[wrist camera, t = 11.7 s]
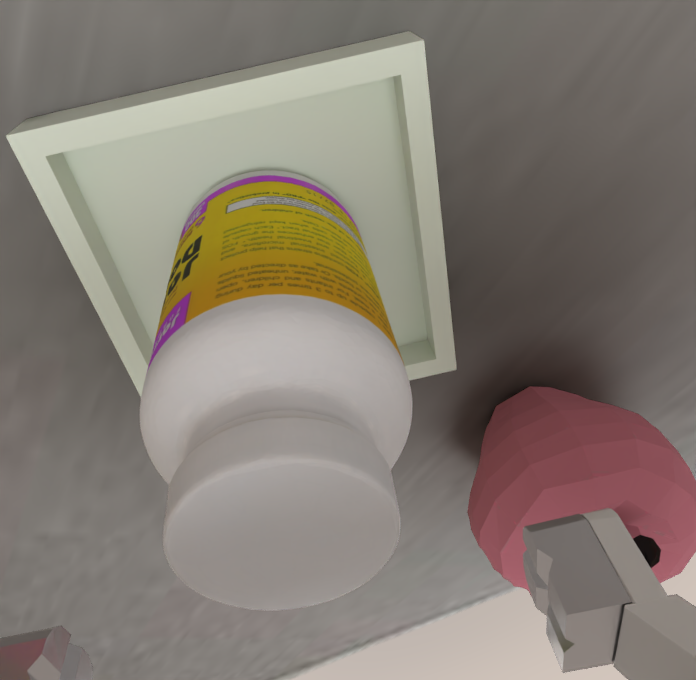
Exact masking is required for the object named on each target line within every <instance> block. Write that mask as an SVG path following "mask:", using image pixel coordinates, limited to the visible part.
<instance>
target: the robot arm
mask: <svg viewBox="0 0 696 680" xmlns="http://www.w3.org/2000/svg"><path fill="white" fill-rule="evenodd" d="M523 541H524V543H525V545H526V548H527V550H526V551H525V552H524V553H523V566H524V571H525V576H526V581H527V584H528V587H529V590H530V593H531V596H532V598H533V601H534V603H535V606H536V608H537V609H538V610H540V611H541V612H542V613H544V614H545V615H546V616H547V636H548V638H549V641H550V643H551V645H552V648H553V650H554V653H555V655H556V658H557V660H558V662H559V665H560V667H561V670H562V672H563V673H565V672H570V671H575V670H580V669H587V668H592V667H598V666H603V665H608V664H614V667H615V668H616V669H617V670H618V671H619V672H620V673H621V674H622V675H624V676H625V677H626V678H627V679H628V680H696V607H695V606H694V605H692V604H691V603H689V602H688V601H686V600H685V599H683V598H682V597H680V596H678V595H677V594H676V595H669V596H667V594H666V592H665V591H664V589H663V587H662V586H661V584H660V582H659V581H658V579H657V578H656V576H655V574H654V573H653V571H652V569H651V568H650V566H649V564H648V563H647V561H646V560H645V558H644V556H643V555H642V553H641V551H640V550H639V548H638V547H637V545H636V543H635V542H634V540H633V538H632V537H631V535H630V533H629V532H628V530H627V529H626V527H625V525H624V524H623V522H622V520H621V519H620V517H619V515H618V514H617V513H616V512H615V511H614V510H612V509H611V508H605V509H601V510H596V511H592V512H588V513H583V514H575V515H571V516H567V517H562V518H558V519H554V520H549V521H545V522H541V523H537V524H532V525H528V526H525V527H524V528H523ZM70 637H71V634H70V633H69V632H68V631H67V630H66V629H65V628H64V627H63V626H57V627H52V628H47V629H42V630H38V631H33V632H28V633H23V634H18V635H14V636H9V637H1V638H0V680H93V666H92V663H91V660H90V657H89V655H88V654H87V652H86V651H85V650H84V649H83V648H82V647H79V646H76V645H73V644H70V643H69V641H70Z"/></svg>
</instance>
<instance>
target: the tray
mask: <svg viewBox="0 0 696 680" xmlns="http://www.w3.org/2000/svg"><path fill="white" fill-rule="evenodd" d="M6 137H7V139H8V141H9V143H10V145H11V147H12V149H13V151H14V153H15V155H16V157H17V159H18V161H19V163H20V164H21V166H22V168H23V170H24V172H25V174H26V176H27V178H28V180H29V182H30V184H31V186H32V188H33V190H34V192H35V193H36V195H37V197H38V199H39V201H40V203H41V205H42V207H43V209H44V211H45V213H46V215H47V217H48V219H49V221H50V222H51V224H52V226H53V228H54V230H55V232H56V234H57V236H58V238H59V240H60V242H61V244H62V246H63V248H64V250H65V251H66V253H67V255H68V257H69V259H70V261H71V263H72V265H73V267H74V269H75V271H76V273H77V275H78V277H79V279H80V280H81V282H82V284H83V286H84V288H85V290H86V292H87V294H88V296H89V298H90V300H91V302H92V304H93V306H94V308H95V309H96V311H97V313H98V315H99V317H100V319H101V321H102V323H103V325H104V327H105V329H106V331H107V333H108V335H109V337H110V338H111V340H112V342H113V344H114V346H115V348H116V350H117V352H118V354H119V356H120V358H121V360H122V362H123V364H124V365H125V367H126V369H127V371H128V373H129V375H130V377H131V379H132V381H133V383H134V385H135V387H136V389H137V391H138V393H139V394H140V396H142V391H143V386H144V382H145V378H146V374H147V370H148V366H149V362H150V358H151V355H152V351H153V346H154V342H155V337H156V333H157V329H158V325H159V320H160V315H161V311H162V307H163V303H164V299H165V296H166V290H167V286H168V282H169V278H170V275H171V270H172V266H173V262H174V258H175V254H176V250H177V246H178V243H179V239H180V236H181V232H182V229H183V226H184V224H185V221H186V219H187V217H188V215H189V214H190V212H191V211H192V209H193V208H194V206H195V205H196V204H197V202H198V201H199V200H200V199H201V198H202V197H203V196H204V195H205V194H206V193H207V192H209V191H210V190H211V189H213V188H214V187H215V186H217V185H218V184H220V183H222V182H224V181H226V180H228V179H230V178H232V177H235V176H238V175H241V174H245V173H249V172H254V171H263V170H276V171H285V172H291V173H295V174H299V175H302V176H304V177H307V178H309V179H311V180H314V181H316V182H317V183H319V184H321V185H322V186H324V187H325V188H327V189H328V190H329V191H331V192H332V193H333V194H334V195H335V196H336V197H338V198H339V199H340V201H341V202H342V203H343V204H344V205H345V206H346V208H347V209H348V211H349V212H350V214H351V215H352V217H353V219H354V221H355V223H356V225H357V228H358V230H359V233H360V235H361V238H362V241H363V244H364V247H365V249H366V252H367V255H368V259H369V262H370V265H371V268H372V271H373V274H374V277H375V280H376V283H377V286H378V289H379V292H380V295H381V298H382V301H383V304H384V307H385V310H386V314H387V317H388V320H389V323H390V326H391V329H392V332H393V334H394V337H395V340H396V343H397V346H398V349H399V351H400V354H401V357H402V360H403V362H404V366H405V369H406V373H407V376H408V379H409V381H410V380H414V379H418V378H423V377H427V376H431V375H436V374H440V373H444V372H449V371H453V370H457V367H456V357H455V347H454V337H453V327H452V317H451V307H450V297H449V287H448V277H447V267H446V256H445V246H444V236H443V226H442V216H441V206H440V196H439V186H438V176H437V166H436V156H435V146H434V136H433V126H432V116H431V106H430V96H429V85H428V75H427V65H426V55H425V45H424V40H423V39H422V38H420V37H418V36H417V35H415V34H413V33H412V32H410V31H408V32H403V33H399V34H394V35H390V36H386V37H381V38H377V39H373V40H368V41H364V42H360V43H355V44H351V45H346V46H342V47H338V48H333V49H329V50H325V51H320V52H316V53H312V54H307V55H303V56H298V57H294V58H290V59H285V60H281V61H277V62H272V63H268V64H264V65H259V66H255V67H250V68H246V69H242V70H237V71H233V72H229V73H224V74H220V75H216V76H211V77H207V78H202V79H198V80H194V81H189V82H185V83H181V84H176V85H172V86H168V87H163V88H159V89H154V90H150V91H146V92H141V93H137V94H133V95H128V96H124V97H120V98H115V99H111V100H107V101H102V102H98V103H93V104H89V105H85V106H80V107H76V108H72V109H67V110H63V111H59V112H54V113H50V114H45V115H41V116H37V117H32V118H28V119H26V120H25V121H24V122H22V123H21V124H20V125H19V126H17V127H16V128H15V129H14V130H12V131H11V132H10V133H9V134H7V135H6Z"/></svg>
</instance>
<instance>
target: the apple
mask: <svg viewBox="0 0 696 680" xmlns="http://www.w3.org/2000/svg"><path fill="white" fill-rule="evenodd" d="M605 508H611V509H612V510H614V511H615V512H616V513H617V514H618V515H619V517H620V519H621V520H622V522H623V524H624V525H625V527H626V529H627V530H628V532H629V533H630V535H631V537H632V538H633V540H634V542H635V543H636V545H637V547H638V548H639V550H640V551H641V553H642V555H643V556H644V558H645V560H646V561H647V563H648V564H649V566H650V568H651V569H652V571H653V573H654V574H655V576H656V578H657V579H658V581H659V582H660V583H661V582H663V581H665V580H667V579H669V578H671V577H673V576H675V575H678V574H679V573H681V572H682V570H683V569H684V568H685V566H686V565H687V563H688V562H689V560H690V559H691V557H692V556H693V555H694V553H695V552H696V480H695V478H694V476H693V474H692V472H691V470H690V468H689V467H688V466H687V464H686V463H685V461H684V460H683V458H682V457H681V455H680V454H679V452H678V451H677V450H676V449H675V448H674V447H673V445H672V444H671V443H670V442H669V441H668V440H667V439H666V438H665V437H664V436H663V434H662V433H661V432H660V431H659V430H658V429H656V428H655V427H654V426H653V425H651V424H650V423H649V422H648V421H646V420H645V419H644V418H643V417H641V416H640V415H639V414H637V413H634V412H631V411H628V410H625V409H622V408H620V407H617V406H614V405H610V404H606V403H602V402H598V401H593V400H589V399H586V398H584V397H581V396H579V395H577V394H573V393H569V392H565V391H561V390H558V389H555V388H551V387H531V386H529V387H528V388H526V389H524V390H523V391H521V392H519V393H518V394H516V395H514V396H513V397H511V398H509V399H507V400H506V401H504V402H502V403H501V404H499V405H497V406H496V407H495V410H494V412H493V415H492V417H491V419H490V422H489V424H488V426H487V428H486V430H485V434H484V438H483V443H482V447H481V455H480V462H479V465H478V468H477V472H476V475H475V479H474V482H473V486H472V489H471V492H470V499H469V506H468V516H469V519H470V525H471V530H472V532H473V534H474V536H475V538H476V540H477V543H478V545H479V547H480V548H481V549H482V550H483V552H484V553H485V555H486V556H487V558H488V559H489V561H490V562H491V565H492V567H493V569H495V570H496V571H497V572H499V573H500V574H501V575H502V577H503V578H504V579H506V580H508V581H509V582H511V583H512V584H513V586H515V587H522V588H524V589H527V590H528V591H529V593H530V590H529V587H528V584H527V581H526V576H525V571H524V566H523V553H524V552H525V551H526V550H527V548H526V545H525V543H524V541H523V528H524V527H525V526H528V525H532V524H537V523H541V522H545V521H549V520H554V519H558V518H562V517H567V516H571V515H575V514H583V513H588V512H592V511H596V510H601V509H605ZM530 595H531V593H530Z"/></svg>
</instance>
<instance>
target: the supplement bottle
mask: <svg viewBox="0 0 696 680" xmlns="http://www.w3.org/2000/svg"><path fill="white" fill-rule="evenodd" d="M412 405H413V402H412V393H411V387H410V382H409V379H408V376H407V373H406V369H405V366H404V362H403V360H402V357H401V354H400V351H399V349H398V346H397V343H396V340H395V337H394V334H393V332H392V329H391V326H390V323H389V320H388V317H387V314H386V310H385V307H384V304H383V301H382V298H381V295H380V292H379V289H378V286H377V283H376V280H375V277H374V274H373V271H372V268H371V265H370V262H369V259H368V255H367V252H366V249H365V247H364V244H363V241H362V238H361V235H360V233H359V230H358V228H357V225H356V223H355V221H354V219H353V217H352V215H351V214H350V212H349V211H348V209H347V208H346V206H345V205H344V204H343V203H342V202H341V201H340V199H339V198H338V197H336V196H335V195H334V194H333V193H332V192H331V191H329V190H328V189H327V188H325V187H324V186H322V185H321V184H319V183H317V182H316V181H314V180H311V179H309V178H307V177H304V176H302V175H299V174H295V173H291V172H285V171H276V170H263V171H254V172H249V173H245V174H241V175H238V176H235V177H232V178H230V179H228V180H226V181H224V182H222V183H220V184H218V185H217V186H215V187H214V188H213V189H211V190H210V191H209V192H207V193H206V194H205V195H204V196H203V197H202V198H201V199H200V200H199V201H198V202H197V204H196V205H195V206H194V208H193V209H192V211H191V212H190V214H189V215H188V217H187V219H186V221H185V224H184V226H183V229H182V232H181V236H180V239H179V243H178V246H177V250H176V254H175V258H174V262H173V266H172V270H171V275H170V278H169V282H168V286H167V290H166V296H165V299H164V303H163V307H162V311H161V315H160V320H159V325H158V329H157V333H156V337H155V342H154V346H153V351H152V355H151V358H150V362H149V366H148V370H147V374H146V378H145V382H144V386H143V391H142V396H141V402H140V412H139V413H140V428H141V434H142V438H143V441H144V444H145V448H146V450H147V452H148V455H149V457H150V459H151V461H152V463H153V464H154V466H155V468H156V469H157V471H158V472H159V474H160V475H161V476H162V478H163V479H164V480H165V481H166V482H167V483H168V484H169V485H170V486H169V489H168V497H167V508H166V515H165V522H164V528H163V547H164V551H165V556H166V558H167V561H168V563H169V565H170V567H171V568H172V570H173V571H174V572H175V573H176V575H177V576H178V577H179V578H180V579H181V580H182V581H183V582H184V583H185V584H186V585H187V586H188V587H190V588H191V589H193V590H194V591H195V592H197V593H199V594H201V595H203V596H205V597H207V598H209V599H211V600H214V601H217V602H221V603H224V604H227V605H230V606H235V607H240V608H245V609H254V610H271V611H273V610H288V609H295V608H302V607H307V606H312V605H316V604H320V603H324V602H328V601H331V600H333V599H336V598H338V597H341V596H343V595H345V594H347V593H349V592H351V591H353V590H354V589H356V588H358V587H359V586H361V585H363V584H365V583H366V582H367V581H369V580H370V579H371V578H372V577H373V576H375V575H376V574H377V573H378V572H379V571H380V570H381V569H382V568H383V567H384V566H385V564H386V563H387V562H388V561H389V559H390V558H391V556H392V554H393V553H394V551H395V549H396V547H397V544H398V541H399V536H400V531H401V519H400V512H399V507H398V502H397V497H396V492H395V487H394V482H393V478H392V473H391V469H392V468H393V466H394V464H395V463H396V461H397V460H398V458H399V456H400V454H401V452H402V450H403V448H404V446H405V443H406V441H407V438H408V435H409V431H410V427H411V420H412Z"/></svg>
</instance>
